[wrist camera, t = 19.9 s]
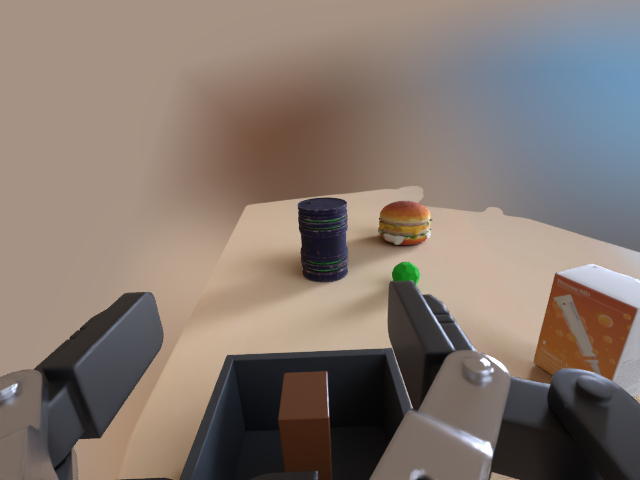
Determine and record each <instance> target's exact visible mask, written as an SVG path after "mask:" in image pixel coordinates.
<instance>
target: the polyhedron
mask: <svg viewBox="0 0 640 480" xmlns="http://www.w3.org/2000/svg"><path fill="white" fill-rule="evenodd" d="M392 277H393V281H414V283H415V284H417V283H418V280H419V278H420V274H419V270H418V269H417V267H416V266H414V265H413V264H412V263H410V262H402V263H400V264H398V265H397V266H395V267H394V269H393V272H392Z"/></svg>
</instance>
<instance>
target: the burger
mask: <svg viewBox="0 0 640 480" xmlns="http://www.w3.org/2000/svg"><path fill="white" fill-rule="evenodd" d="M379 220H380V221H379V225H380V227H379V229H378V233H379V234H381V236H382V238H383V239H384V240H386V241H387V242H390V243H394V244H395V245H399V244H402V245H411V244H418V243H421V242H423V241H425V240H426V238H430V234H431V233H430V230H431V229H429V226H430V221H432V219H430V212H429V211H428V209H427V208H425V207H424V206H423V205H421V204H419V203H415V202H411V201H398V202H394V203H391V204H389V205H387V206H385V207H384V208H383V209H382V211H381V213H380V218H379Z"/></svg>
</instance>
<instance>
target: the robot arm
mask: <svg viewBox="0 0 640 480" xmlns="http://www.w3.org/2000/svg"><path fill="white" fill-rule="evenodd" d="M388 332H389V338H390V341H391V344H392V347H393V350H394V353H395V356H396V359H397V362H398V365H399V368H400V371H401V374H402V377H403V380H404V383H405V386H406V389H407V391H408V394H409V397H410V400H411V403H412V406H413V409H412V408H411V409H410V410H409V411H408V412H407V413H406V415H405V417H404V418H403V420H402V422H401V424H400V425H399V427H398V429H397V431H396V433H395V434H394V436H393V438H392V440H391V442H390V443H389V445H388V447H387V449H386V451H385V452H384V454H383V456H382V458H381V460H380V461H379V463H378V465H377V467H376V469H375V470H374V472H373V474H372V476H371V478H370V479H369V480H490V478H491V473H492V472H494V473H498V474H501V475H505V476H509V477H512V478H516V479H519V480H640V404H639V403H638V402H637V401H636V400H635V399H634V398H633V397H632V396H631V395H630V394H629V393H628V392H626V391H625V390H624V389H623V388H622V387H620V386H619V385H617V384H616V383H614V382H613V381H611V380H609V379H607V378H605V377H603V376H601V375H598V374H596V373H593V372H590V371H586V370H582V369H576V368H565V369H560V370H558V371H556V372H555V373H554V374H553V376H552V380H551V384H546V383H541V382H535V381H530V380H525V379H520V378H516V377H512V376H510V375H509V372H508V371H507V369H506V368H505V367H504V366H503V365H502V364H501V363H500V362H498V361H497V360H496V359H494V358H492V357H490V356H488V355H486V354H483V353H480V352H477V351H476V350H475V348H474V347H473V346H472V344H471V343H470V341H469V340H468V338H467V337H466V335H465V334H464V333H463V331H462V330H461V328H460V327H459V325H458V324H457V323H455V320H454V318H453V317H452V315H450V313H449V311H448V310H447V308H446V307H445V305H444V304H443V303H442V302H441V301H439V300H438V299H436V298H435V297H433V296H432V295H422V294H421V292H420V291H419V289H418V288H417V286H416V284H415V283H414V281H392V282H390V284H389V299H388ZM162 343H163V329H162V325H161V321H160V317H159V314H158V309H157V305H156V301H155V298H154V296H153V294H152V293H150V292H136V293H125V294H123V295H122V296H121V297H120V298H119V299H118V300H117V301H116V302H115V303H113V304H112V305H111V306H110V307H109V308H108V309H106V310H105V311H103V312H101V313H100V314H98V315H96V316H94V317H93V318H91V319H90V320H89V321H88V322H87V323H85V325H83V326H82V327H81V328H80V330H78V331H76V332H75V333H74V334H73V335H72V336H71V337H70V339H69V340H66V341H65V342H64V343H63V344H62V345H61V346H59V347H58V348H57V349H56V350H55V351H54V352H53V353H51V354H50V355H49V356H48V357H47V358H46V359H45V360H44V361H42V362H41V363H40V364H39V365H38V366H37V367H36V368H35V369H33V370H30V369H29V370H21V371H17V372H13V373H10V374H7V375H4V376H2V377H0V480H78V466H77V455H76V452H75V449H74V447H73V446H74V445H75V444H76V442H77V441H78V439H91V438H101V436H102V435H103V433H104V432H105V430H106V429H107V428H108V426H109V424H110V423H111V422H112V420H113V419H114V417H115V415H116V414H117V413H118V411H119V409H120V408H121V407H122V405H123V404H124V402H125V401H126V399H127V398H128V396H129V395H130V393H131V392H132V390H133V389H134V387H135V386H136V384H137V383H138V382H139V380H140V379H141V377H142V376H143V374H144V373H145V371H146V370H147V368H148V367H149V365H150V364H151V362H152V361H153V359H154V358H155V356H156V355H157V353H158V352H159V350H160V349H161V346H162ZM122 480H172V479H168V478H145V479H122ZM248 480H319V477H318V471H305V472H282V473H267V474H264V475H261V476H257V477H254V478H251V479H248Z"/></svg>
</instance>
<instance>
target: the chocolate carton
mask: <svg viewBox="0 0 640 480" xmlns="http://www.w3.org/2000/svg"><path fill="white" fill-rule="evenodd" d="M278 422H279V431H280V439H281V447H282V455H283V463H284V472H305V471H318V477H319V480H332V462H331V441H330V419H329V398H328V376H327V371H321V372H297V373H284V378H283V386H282V394H281V402H280V409H279V417H278Z"/></svg>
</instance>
